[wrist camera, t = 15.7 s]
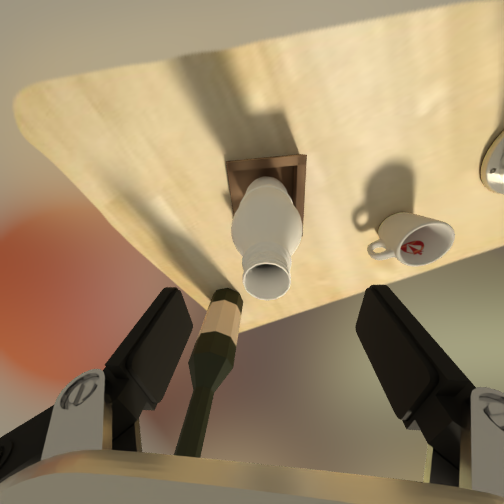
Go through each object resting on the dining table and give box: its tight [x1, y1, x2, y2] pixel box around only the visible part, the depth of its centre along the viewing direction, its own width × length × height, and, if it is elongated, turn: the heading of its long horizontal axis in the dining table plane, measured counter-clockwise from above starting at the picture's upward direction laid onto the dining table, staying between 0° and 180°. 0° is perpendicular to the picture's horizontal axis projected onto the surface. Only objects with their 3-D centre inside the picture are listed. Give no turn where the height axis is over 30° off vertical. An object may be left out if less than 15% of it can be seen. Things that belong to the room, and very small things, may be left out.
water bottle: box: [231, 176, 302, 300], centre depth 22 cm, size 7×7×25 cm
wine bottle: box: [174, 288, 243, 458], centre depth 35 cm, size 8×8×30 cm
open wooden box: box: [226, 154, 307, 236], centre depth 31 cm, size 12×12×6 cm
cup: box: [367, 212, 455, 266], centre depth 32 cm, size 11×8×8 cm
